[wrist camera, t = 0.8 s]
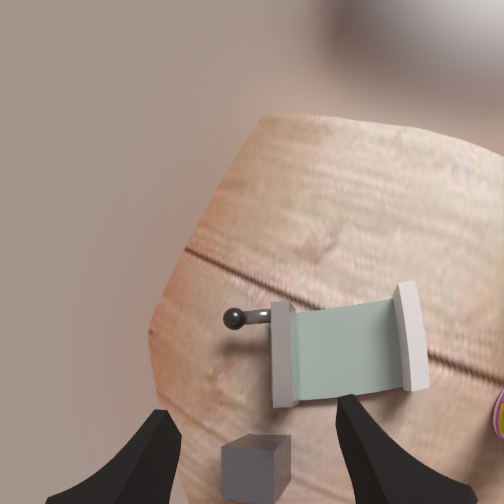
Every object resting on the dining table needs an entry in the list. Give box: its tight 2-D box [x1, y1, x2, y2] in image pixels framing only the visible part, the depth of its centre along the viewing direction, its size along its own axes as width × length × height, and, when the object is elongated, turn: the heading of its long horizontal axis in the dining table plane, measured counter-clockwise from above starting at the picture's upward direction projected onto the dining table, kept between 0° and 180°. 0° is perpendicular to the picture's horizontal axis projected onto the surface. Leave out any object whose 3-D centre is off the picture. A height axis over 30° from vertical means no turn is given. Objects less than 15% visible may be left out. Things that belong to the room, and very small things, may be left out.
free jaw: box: [223, 300, 299, 408], centre depth 22 cm, size 9×6×3 cm
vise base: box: [270, 280, 430, 401], centre depth 20 cm, size 9×13×4 cm, turn 90°
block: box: [221, 434, 291, 504], centre depth 17 cm, size 5×4×6 cm
